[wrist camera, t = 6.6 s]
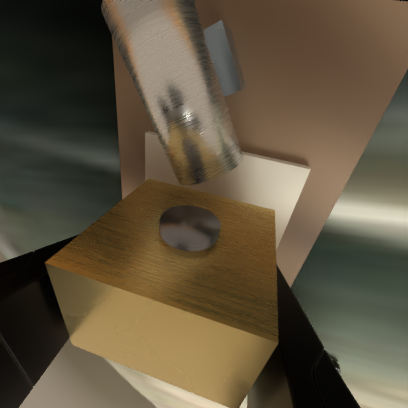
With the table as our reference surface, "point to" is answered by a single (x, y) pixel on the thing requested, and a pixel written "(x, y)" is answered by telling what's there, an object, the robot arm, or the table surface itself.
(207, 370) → the yellow knobbed block
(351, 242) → the table surface
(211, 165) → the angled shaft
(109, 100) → the table surface
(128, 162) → the base plate
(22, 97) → the table surface
